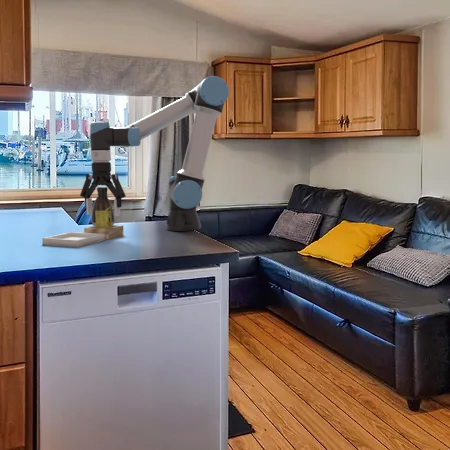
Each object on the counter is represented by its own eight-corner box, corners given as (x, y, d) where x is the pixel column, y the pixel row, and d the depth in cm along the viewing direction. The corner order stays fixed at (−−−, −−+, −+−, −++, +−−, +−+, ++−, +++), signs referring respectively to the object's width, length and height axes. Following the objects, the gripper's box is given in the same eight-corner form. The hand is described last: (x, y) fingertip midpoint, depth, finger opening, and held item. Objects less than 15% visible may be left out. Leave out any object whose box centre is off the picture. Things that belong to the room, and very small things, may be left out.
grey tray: (104, 240, 206) (104, 234, 206) (77, 247, 192) (76, 240, 192) (71, 238, 213) (71, 231, 213) (42, 244, 198) (42, 238, 198)
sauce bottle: (112, 237, 214) (110, 187, 211) (96, 238, 212) (94, 187, 210) (112, 235, 220) (110, 186, 217) (96, 235, 219) (94, 186, 216)
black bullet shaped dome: (118, 227, 241) (117, 194, 239) (111, 231, 231) (109, 195, 229) (96, 227, 242) (94, 194, 240) (88, 231, 232) (86, 195, 230)
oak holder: (123, 235, 219) (123, 225, 218) (107, 239, 209) (106, 229, 208) (101, 233, 223) (101, 224, 223) (84, 237, 213) (84, 227, 213)
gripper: (69, 162, 214) (72, 214, 217) (122, 161, 204) (124, 217, 206) (81, 161, 220) (84, 212, 223) (133, 161, 210) (134, 215, 213)
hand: (103, 215), depth 215 cm, fingers open, 13 cm apart
